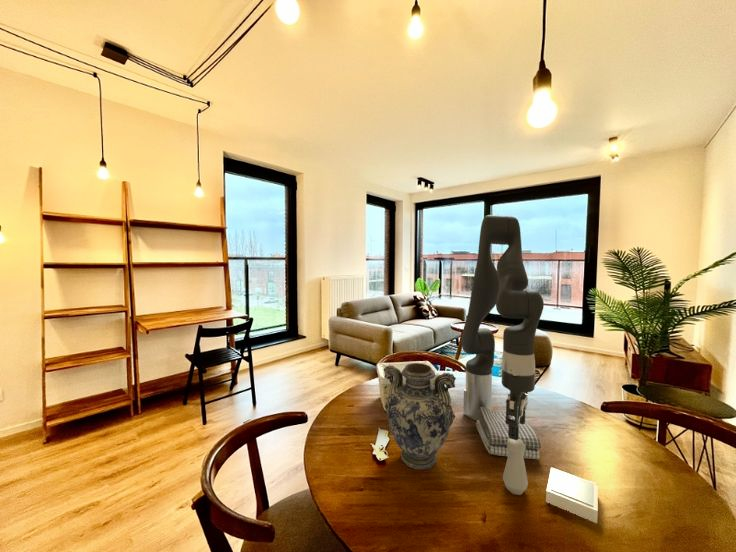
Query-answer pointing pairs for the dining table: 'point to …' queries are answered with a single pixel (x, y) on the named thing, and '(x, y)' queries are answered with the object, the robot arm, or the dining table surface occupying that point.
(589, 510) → the pedestal
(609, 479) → the dining table surface
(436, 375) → the cream box
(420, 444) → the decorative vase
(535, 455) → the towel
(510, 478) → the salt shaker
